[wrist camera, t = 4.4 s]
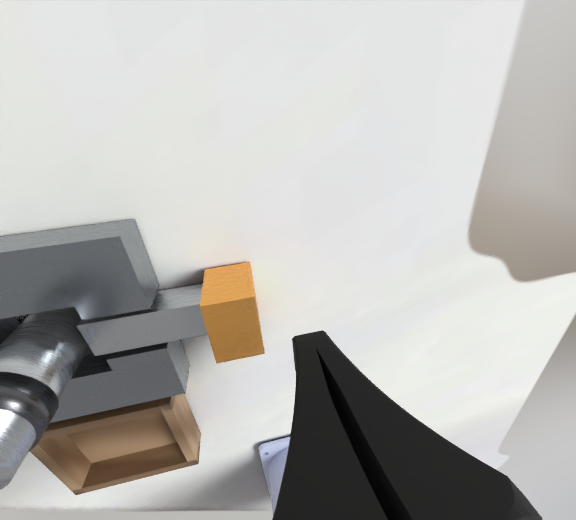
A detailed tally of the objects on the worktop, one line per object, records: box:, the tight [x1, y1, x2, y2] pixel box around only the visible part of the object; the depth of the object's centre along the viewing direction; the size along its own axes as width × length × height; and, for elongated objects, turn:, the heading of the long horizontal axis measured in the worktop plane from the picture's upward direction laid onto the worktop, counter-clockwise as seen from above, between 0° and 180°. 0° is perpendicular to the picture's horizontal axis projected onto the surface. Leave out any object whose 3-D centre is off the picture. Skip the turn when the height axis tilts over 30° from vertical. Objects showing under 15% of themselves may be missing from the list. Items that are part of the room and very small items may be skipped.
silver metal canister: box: [0, 307, 89, 489], centre depth 11 cm, size 3×3×7 cm
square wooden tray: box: [30, 394, 201, 495], centre depth 18 cm, size 7×8×2 cm
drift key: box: [77, 262, 265, 363], centre depth 14 cm, size 8×4×3 cm, turn 94°
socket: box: [0, 219, 190, 423], centre depth 13 cm, size 10×10×2 cm
